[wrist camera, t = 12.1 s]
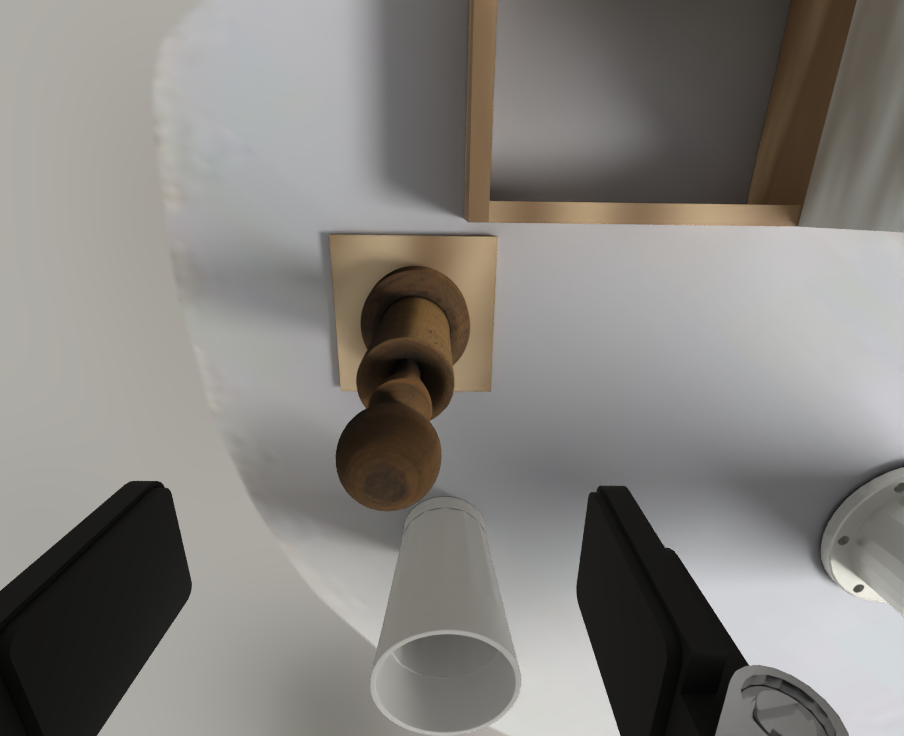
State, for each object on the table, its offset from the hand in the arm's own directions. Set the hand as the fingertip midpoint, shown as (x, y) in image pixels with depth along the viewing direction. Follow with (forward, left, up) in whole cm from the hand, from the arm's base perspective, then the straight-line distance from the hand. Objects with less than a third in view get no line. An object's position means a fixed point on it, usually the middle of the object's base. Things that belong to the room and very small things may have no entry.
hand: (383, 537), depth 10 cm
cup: (-2, +17, -21) cm, 27 cm away
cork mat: (0, 0, -20) cm, 20 cm away
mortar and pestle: (0, 0, -20) cm, 20 cm away
